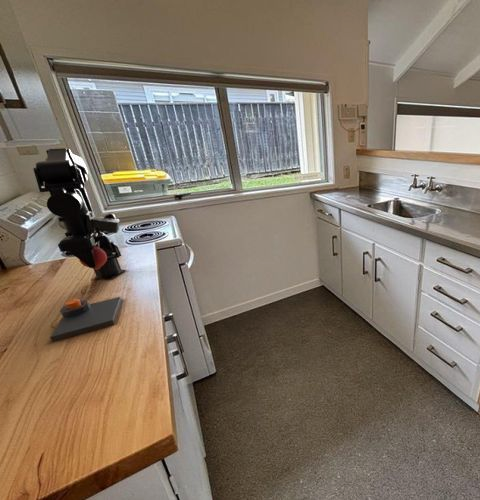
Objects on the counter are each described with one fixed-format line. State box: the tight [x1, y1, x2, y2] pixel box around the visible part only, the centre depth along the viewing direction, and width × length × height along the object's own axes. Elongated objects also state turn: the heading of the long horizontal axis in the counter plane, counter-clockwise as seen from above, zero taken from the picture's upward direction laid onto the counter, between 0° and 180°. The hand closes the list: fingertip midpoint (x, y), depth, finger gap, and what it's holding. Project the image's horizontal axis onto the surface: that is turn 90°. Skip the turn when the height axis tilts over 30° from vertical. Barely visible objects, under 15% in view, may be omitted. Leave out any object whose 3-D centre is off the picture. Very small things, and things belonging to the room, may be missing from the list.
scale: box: [49, 296, 123, 343], centre depth 75 cm, size 14×12×3 cm
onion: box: [78, 246, 107, 270], centre depth 80 cm, size 6×6×8 cm
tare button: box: [65, 298, 82, 309], centre depth 76 cm, size 3×3×2 cm
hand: (95, 264), depth 81 cm, fingers closed on onion, 6 cm apart
